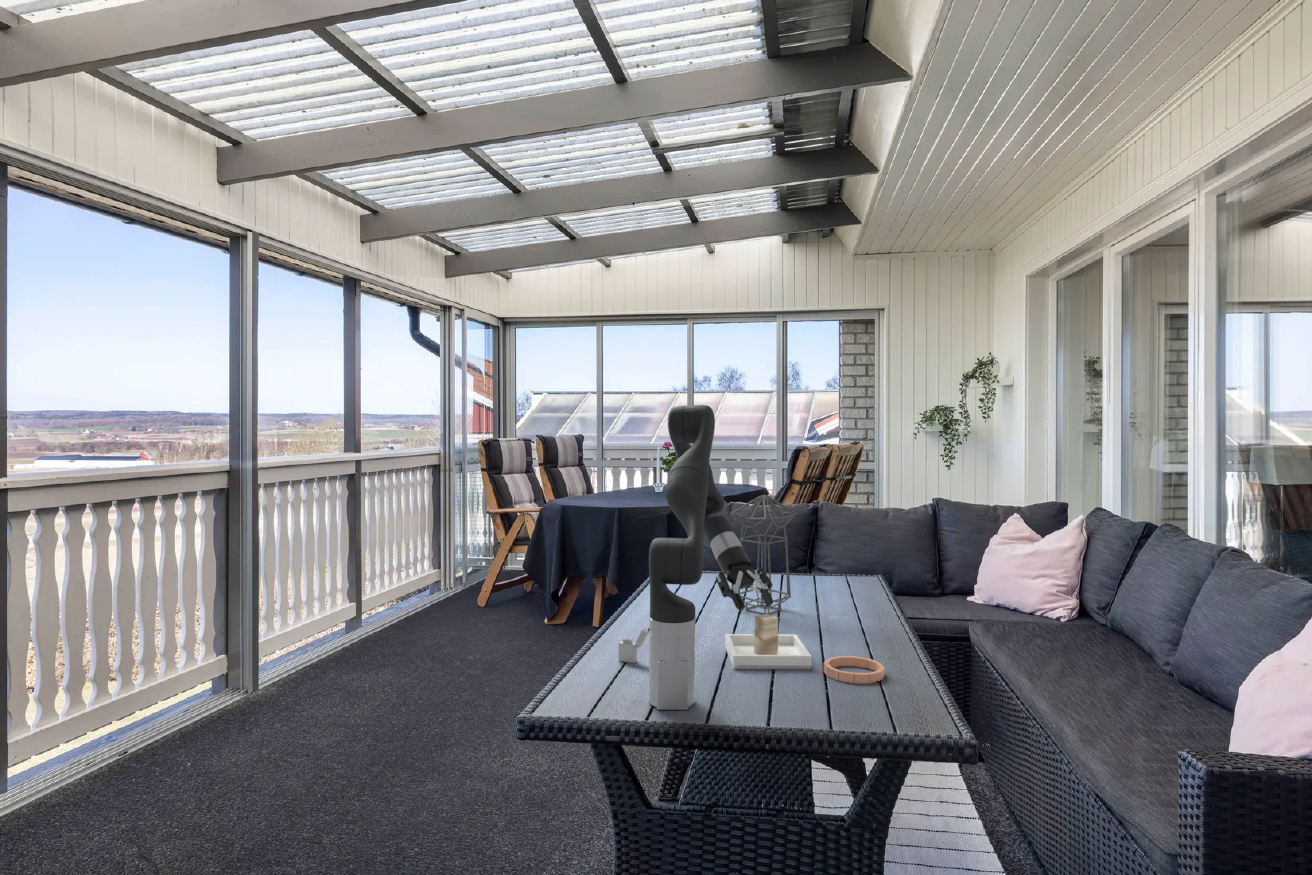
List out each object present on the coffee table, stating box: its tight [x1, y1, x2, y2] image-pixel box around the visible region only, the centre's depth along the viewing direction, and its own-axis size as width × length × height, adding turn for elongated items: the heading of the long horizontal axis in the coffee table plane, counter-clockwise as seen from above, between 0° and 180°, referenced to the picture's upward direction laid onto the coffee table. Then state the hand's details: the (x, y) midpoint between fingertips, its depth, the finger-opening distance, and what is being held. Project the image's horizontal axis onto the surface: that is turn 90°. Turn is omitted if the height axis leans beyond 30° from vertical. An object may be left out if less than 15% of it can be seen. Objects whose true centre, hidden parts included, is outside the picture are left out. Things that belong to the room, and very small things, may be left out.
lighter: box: [618, 628, 650, 664], centre depth 183 cm, size 7×2×8 cm, turn 69°
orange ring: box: [823, 655, 886, 685], centre depth 176 cm, size 13×13×2 cm
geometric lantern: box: [729, 494, 798, 615], centre depth 233 cm, size 16×16×35 cm
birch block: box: [753, 614, 779, 655], centre depth 188 cm, size 4×4×9 cm
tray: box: [724, 633, 813, 670], centre depth 188 cm, size 18×18×3 cm
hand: (756, 607), depth 191 cm, fingers open, 8 cm apart
